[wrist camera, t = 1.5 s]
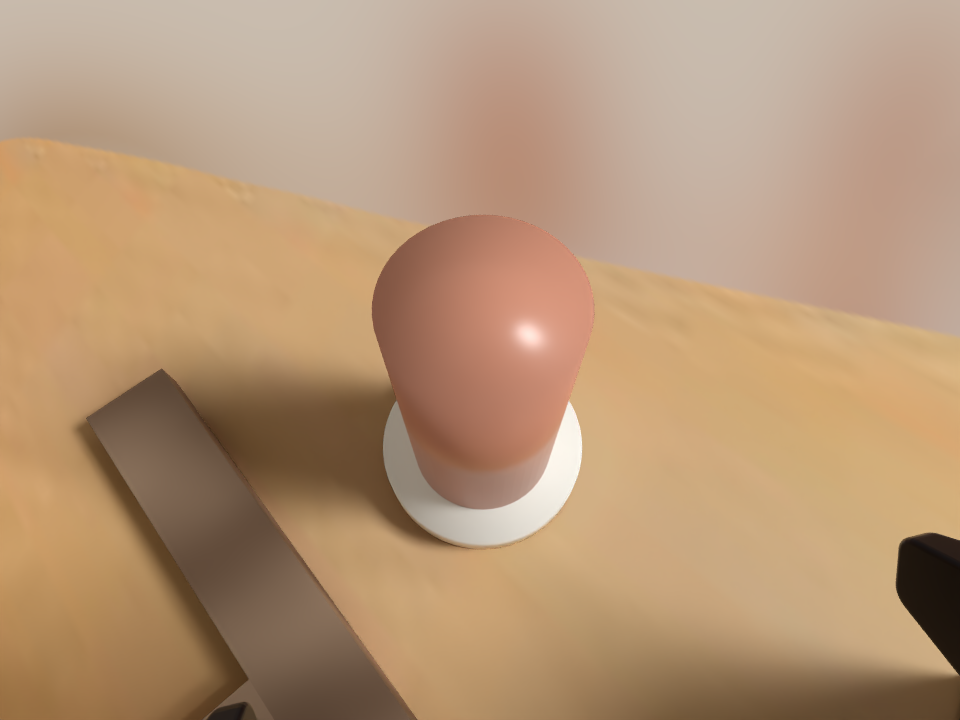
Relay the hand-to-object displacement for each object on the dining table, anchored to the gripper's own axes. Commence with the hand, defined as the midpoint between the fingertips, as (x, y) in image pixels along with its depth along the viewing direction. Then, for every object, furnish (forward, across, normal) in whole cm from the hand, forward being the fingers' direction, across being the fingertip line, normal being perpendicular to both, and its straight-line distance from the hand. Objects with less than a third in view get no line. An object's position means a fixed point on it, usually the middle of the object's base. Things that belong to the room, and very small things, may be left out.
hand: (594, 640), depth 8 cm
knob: (+14, 0, +4) cm, 15 cm away
